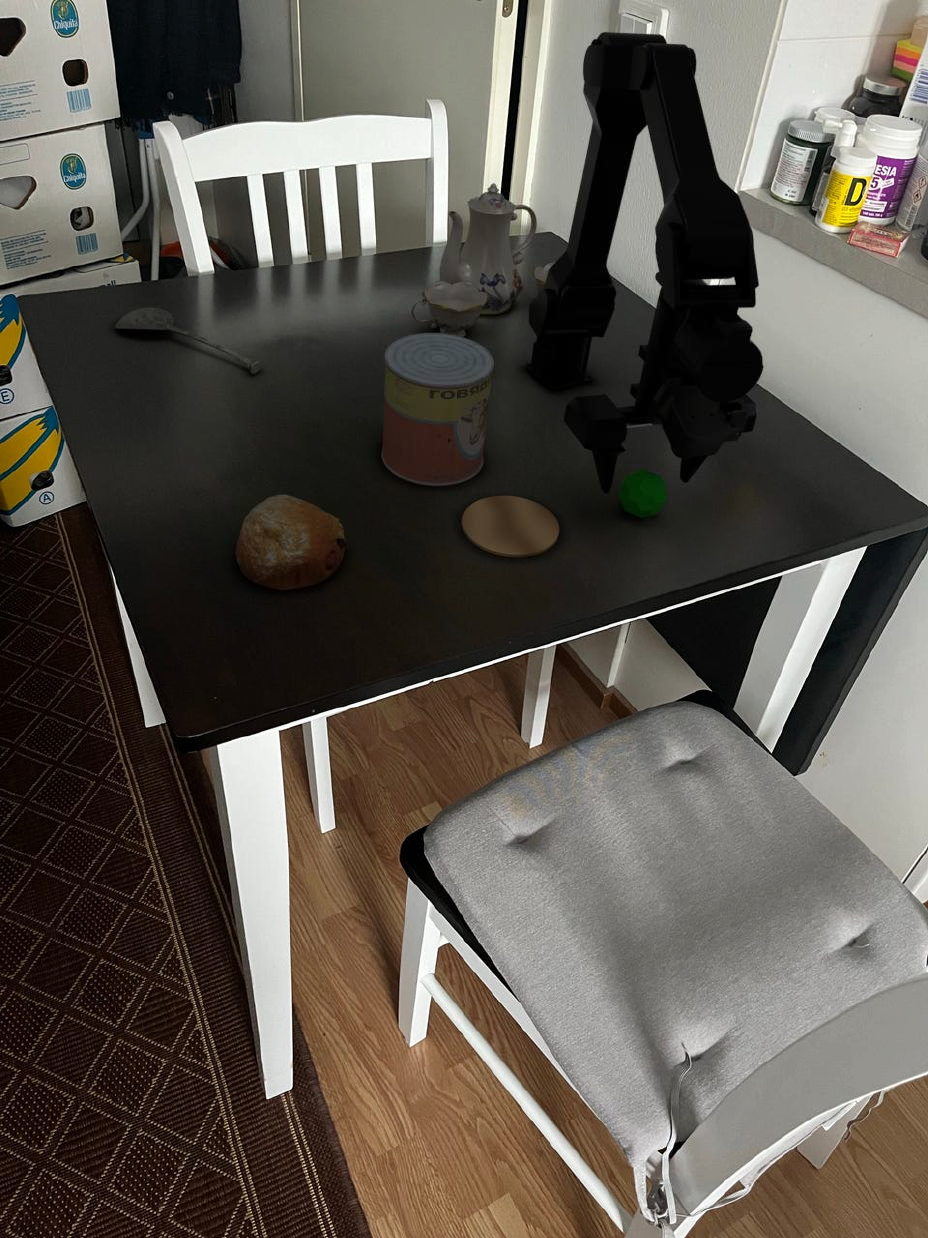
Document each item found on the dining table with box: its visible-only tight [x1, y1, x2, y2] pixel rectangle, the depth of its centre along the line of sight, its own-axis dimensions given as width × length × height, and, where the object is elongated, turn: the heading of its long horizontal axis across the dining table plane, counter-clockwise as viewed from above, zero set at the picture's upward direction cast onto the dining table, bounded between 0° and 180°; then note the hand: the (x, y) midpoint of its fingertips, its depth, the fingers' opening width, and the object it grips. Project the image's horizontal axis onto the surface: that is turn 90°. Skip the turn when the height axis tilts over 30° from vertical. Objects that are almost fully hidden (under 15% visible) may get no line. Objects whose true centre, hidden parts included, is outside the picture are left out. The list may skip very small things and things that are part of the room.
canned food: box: [381, 332, 495, 487], centre depth 105 cm, size 11×11×12 cm
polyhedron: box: [618, 469, 668, 519], centre depth 103 cm, size 5×5×5 cm
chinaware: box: [411, 182, 556, 337], centre depth 133 cm, size 28×17×17 cm, turn 127°
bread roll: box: [235, 493, 348, 591], centre depth 93 cm, size 10×10×8 cm
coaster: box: [461, 495, 560, 559], centre depth 101 cm, size 10×10×1 cm
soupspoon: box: [114, 307, 262, 375], centre depth 123 cm, size 22×3×7 cm
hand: (644, 485), depth 103 cm, fingers open, 9 cm apart
